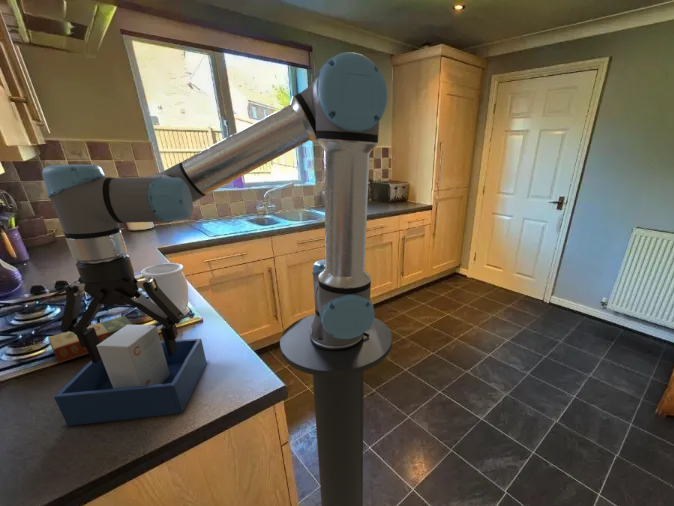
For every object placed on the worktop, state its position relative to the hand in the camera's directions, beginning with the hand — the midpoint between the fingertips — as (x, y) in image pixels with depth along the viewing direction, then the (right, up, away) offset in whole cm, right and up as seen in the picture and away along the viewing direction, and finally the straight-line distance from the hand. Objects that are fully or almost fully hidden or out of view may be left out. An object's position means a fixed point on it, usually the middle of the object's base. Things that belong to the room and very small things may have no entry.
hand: (136, 355), depth 67 cm
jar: (-14, +6, +34) cm, 38 cm away
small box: (-1, -7, +3) cm, 8 cm away
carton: (-24, -1, +19) cm, 31 cm away
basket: (-1, -8, +3) cm, 9 cm away
